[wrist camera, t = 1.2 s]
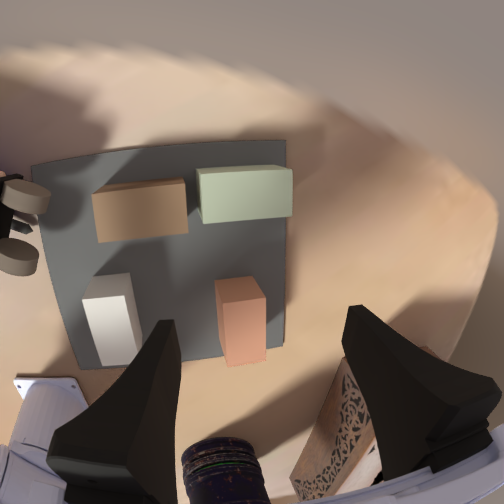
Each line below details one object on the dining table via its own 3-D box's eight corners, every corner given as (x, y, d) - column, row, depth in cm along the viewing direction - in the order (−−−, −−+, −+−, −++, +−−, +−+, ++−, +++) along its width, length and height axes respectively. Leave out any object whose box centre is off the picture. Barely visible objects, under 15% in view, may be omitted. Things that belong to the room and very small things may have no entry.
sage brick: (273, 164, 24) (292, 169, 21) (273, 204, 25) (292, 216, 22) (195, 168, 23) (200, 174, 19) (198, 210, 24) (203, 224, 20)
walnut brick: (182, 176, 23) (185, 183, 19) (185, 218, 24) (188, 233, 20) (103, 185, 21) (91, 194, 18) (108, 226, 23) (98, 243, 19)
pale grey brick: (142, 334, 26) (140, 363, 23) (108, 337, 26) (102, 366, 22) (129, 272, 24) (124, 295, 21) (92, 276, 24) (81, 299, 20)
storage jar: (254, 468, 38) (286, 553, 24) (186, 479, 36) (205, 568, 22) (254, 430, 35) (293, 532, 21) (174, 441, 32) (191, 551, 19)
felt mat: (281, 344, 31) (282, 346, 30) (81, 367, 26) (80, 369, 26) (284, 140, 24) (285, 140, 24) (32, 165, 20) (30, 166, 19)
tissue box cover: (341, 356, 34) (387, 415, 25) (425, 345, 38) (471, 386, 29) (288, 476, 42) (309, 524, 33) (361, 458, 46) (386, 498, 37)
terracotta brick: (253, 334, 29) (265, 360, 25) (219, 339, 28) (227, 367, 25) (252, 275, 27) (266, 297, 23) (214, 280, 26) (222, 303, 23)
